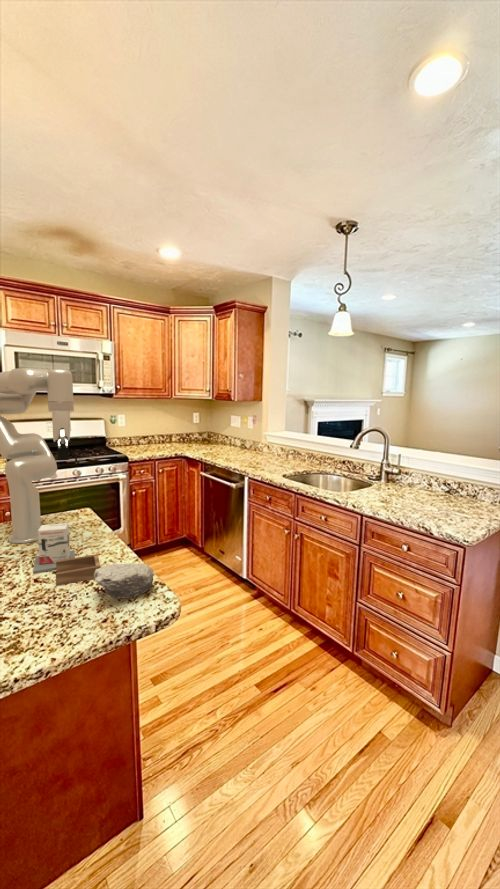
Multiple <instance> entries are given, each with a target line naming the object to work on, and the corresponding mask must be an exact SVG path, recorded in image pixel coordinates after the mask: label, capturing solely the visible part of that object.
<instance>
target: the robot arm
mask: <svg viewBox="0 0 500 889" xmlns="http://www.w3.org/2000/svg"><path fill="white" fill-rule="evenodd" d="M73 386H74V385H73V374H72V371H71V370H68V369H61V368H60V369H58V368H57V369H56V368H53V369H52V368H51V369H47V368H32V367H31V368H30V367H22V368H21V367H20V368H18V367H17V368H12V369H11V370H9V371H7V370H6V371H1V372H0V455H1V456H2V457H3V458H4V459H6V460H8V461H7V462H6V464H4V472H5V476H6V477H5V478H6V482H7V484H8V490H9V502H10V503H9V504H10V515H11V517H10V518H11V527H12V528H11V529H12V533H11V534H10V535H9V536H8V537H7V541H8V542H9V543H11V544H28V543H33V542H37V541H38V530H39V528H40V526H42V522H41V520H42V519H41V501H40V491H39V489H38V488H37V487H36V486H35V485H34V484H33V483H32V482H34V481H38V480H42V479H43V480H45V479H48V478H52V477H53V476H55V475H56V473H57V471H58V465H57V461H56V459H55V457H54V455H53V453H52V452H51V450H50V448H49V446H48V444H47V442H46V441H45V439H44V438H43V437H42V436H41V435H39V434H38V433H35V432H34V433H33V432H32V433H29V432H28V433H19V432H18V431H17V428H16V427H15V425H14V424H13V423H12V422H11V421H10V420H8V419H7V418H5V417H4V416H1V415H20V414H24V413H25V412H27V411H28V409H29V407H30V406H31V403H32V402H33V399H34V397H35V396H36V394H37V392H45V393H46V392H47V404H48V412H50V413H51V416H52V417H51V419H52V420H51V421H52V422H51V423H52V438H53V439H52V440H53V442H54V443H55V442H56V441H57V459H58V461H69V460H70V452H69V451H70V449H69V441H70V440H71V439H70V438H71V412H75V410H74V406H75V405H74V404H75V403H74V387H73Z"/></svg>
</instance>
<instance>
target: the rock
mask: <svg viewBox="0 0 500 889" xmlns="http://www.w3.org/2000/svg"><path fill="white" fill-rule="evenodd" d="M100 567H101V568H99V569H96V570H95V573H94V578H95V579H94V581H95V582H96V583H97V584H98V585H99V586H100V587H103V588H104V592H105V593H106V595H108V596H109V597H111V598H113V599H118V598H120V599H121V598H123V599H125V600H129V599H131V598H132V597H134V596H137V595H142V594H143V593H145V592H147V591H149V590H150V589H151V587H152V586H153V582H154V570H153V568H152V567H151V566H148V565H147V564H145V563H144V562H143V563H142V562H141V563H132V562H131V563H120V564H119V563H112V564H107V565H103V566H100Z"/></svg>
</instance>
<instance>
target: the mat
mask: <svg viewBox="0 0 500 889" xmlns="http://www.w3.org/2000/svg"><path fill="white" fill-rule="evenodd" d="M75 550H76V549H75ZM75 550H70V557H69V559H71V558H76V552H75ZM32 569H33V570H32V574H33V575H36V574H43V573H47V572H53V571H57V570H56V563H50V564H41V565H40V563H39V555H36V556H35V557H34V564H33V568H32Z"/></svg>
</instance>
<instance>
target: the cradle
mask: <svg viewBox="0 0 500 889" xmlns="http://www.w3.org/2000/svg"><path fill="white" fill-rule="evenodd" d="M101 567H102V566H101V562H100V558H99V554H98V553H96V554H90V555H84V556H77V557H75V558H71V559H65V560H59V561H56V570H55V571H56V573H55V586H56V587H58V586H64V585H67V584H74V583H79V582H84V581H90V580H95V578H94V573H95V570H96V569H99V568H101Z"/></svg>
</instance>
